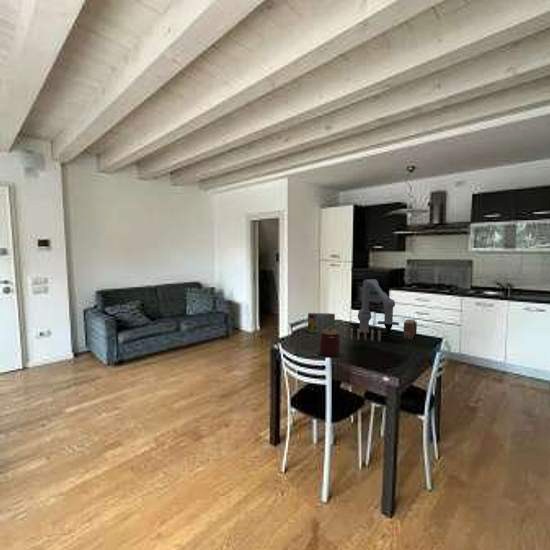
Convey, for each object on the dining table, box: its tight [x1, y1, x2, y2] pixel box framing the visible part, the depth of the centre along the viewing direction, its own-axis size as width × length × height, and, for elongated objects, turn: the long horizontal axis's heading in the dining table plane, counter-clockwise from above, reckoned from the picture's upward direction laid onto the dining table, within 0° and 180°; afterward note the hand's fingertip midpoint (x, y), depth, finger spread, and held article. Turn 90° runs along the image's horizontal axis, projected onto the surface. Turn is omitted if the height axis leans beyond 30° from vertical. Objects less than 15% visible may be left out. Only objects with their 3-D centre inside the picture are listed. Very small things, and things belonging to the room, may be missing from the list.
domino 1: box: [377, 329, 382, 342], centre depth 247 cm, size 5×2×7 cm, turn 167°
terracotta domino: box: [363, 329, 368, 341], centre depth 249 cm, size 5×2×7 cm, turn 167°
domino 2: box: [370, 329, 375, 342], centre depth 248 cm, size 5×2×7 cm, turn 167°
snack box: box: [307, 312, 336, 334], centre depth 269 cm, size 21×6×15 cm, turn 84°
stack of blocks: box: [402, 319, 418, 340], centre depth 261 cm, size 21×6×12 cm, turn 148°
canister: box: [319, 327, 341, 357], centre depth 216 cm, size 13×13×18 cm
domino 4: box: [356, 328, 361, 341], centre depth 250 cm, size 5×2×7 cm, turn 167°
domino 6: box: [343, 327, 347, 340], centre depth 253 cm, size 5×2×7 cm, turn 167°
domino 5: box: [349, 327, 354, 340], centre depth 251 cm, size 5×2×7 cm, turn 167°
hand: (387, 334), depth 246 cm, fingers closed
